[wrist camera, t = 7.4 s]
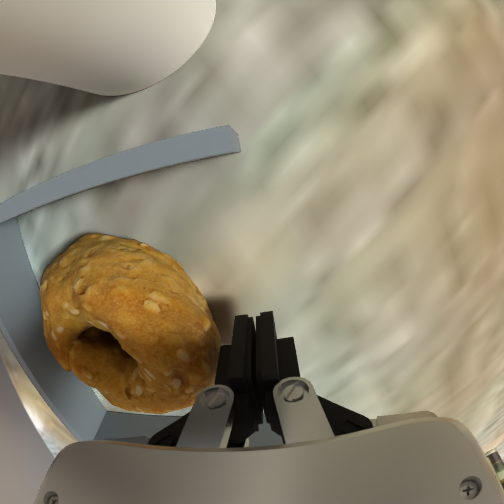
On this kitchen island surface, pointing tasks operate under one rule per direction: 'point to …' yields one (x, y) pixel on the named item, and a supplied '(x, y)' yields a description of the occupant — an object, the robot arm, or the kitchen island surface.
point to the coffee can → (497, 467)
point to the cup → (101, 41)
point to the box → (28, 293)
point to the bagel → (129, 324)
